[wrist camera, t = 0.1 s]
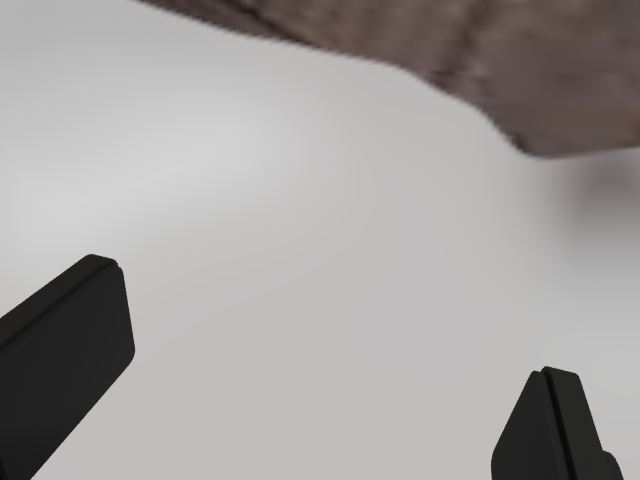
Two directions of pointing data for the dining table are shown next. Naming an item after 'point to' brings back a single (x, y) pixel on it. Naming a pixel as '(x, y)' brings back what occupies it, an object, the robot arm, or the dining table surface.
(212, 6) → the dining table surface
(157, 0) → the dining table surface
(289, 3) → the dining table surface
